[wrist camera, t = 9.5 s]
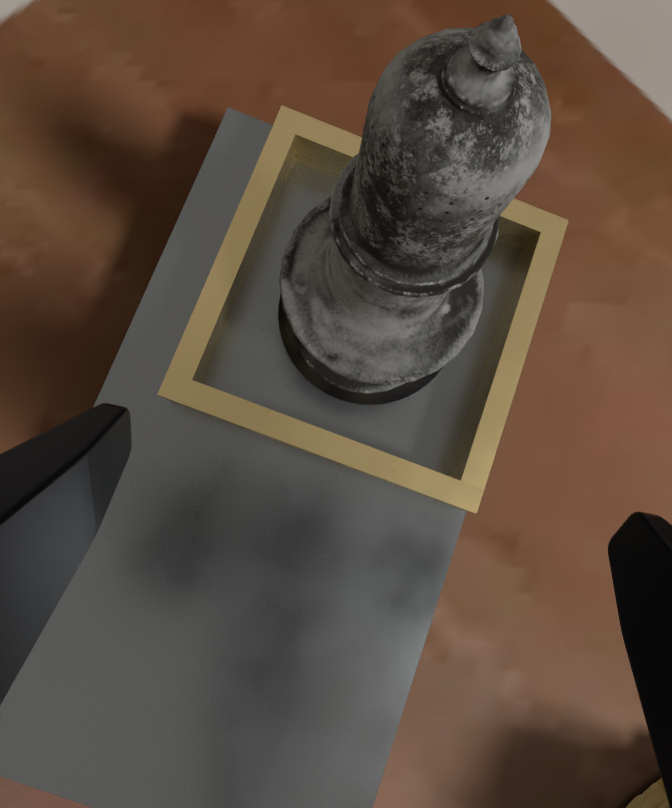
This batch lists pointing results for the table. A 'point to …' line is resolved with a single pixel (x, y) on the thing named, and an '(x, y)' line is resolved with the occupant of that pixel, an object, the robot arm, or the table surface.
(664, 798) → the ceramic model
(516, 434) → the table surface
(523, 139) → the grey tiered ornament
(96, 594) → the grey slab
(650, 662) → the robot arm
